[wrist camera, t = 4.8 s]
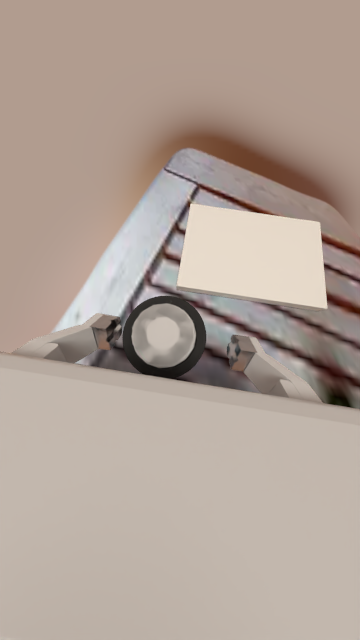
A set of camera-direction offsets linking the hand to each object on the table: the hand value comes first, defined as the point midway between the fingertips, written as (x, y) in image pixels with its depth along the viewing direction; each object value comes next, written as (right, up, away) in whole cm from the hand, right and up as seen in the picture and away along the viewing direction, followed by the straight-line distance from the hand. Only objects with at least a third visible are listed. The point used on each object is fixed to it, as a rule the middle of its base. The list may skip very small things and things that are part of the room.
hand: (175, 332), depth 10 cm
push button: (0, -2, +8) cm, 8 cm away
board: (+11, +10, +11) cm, 18 cm away
